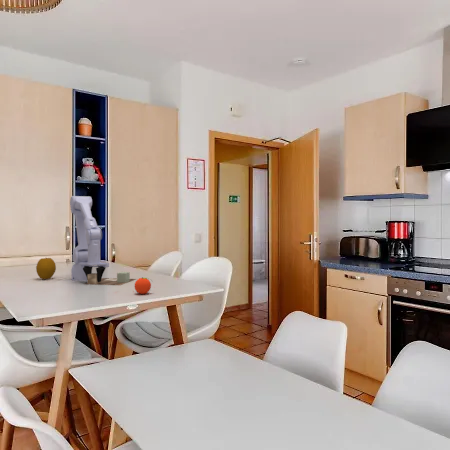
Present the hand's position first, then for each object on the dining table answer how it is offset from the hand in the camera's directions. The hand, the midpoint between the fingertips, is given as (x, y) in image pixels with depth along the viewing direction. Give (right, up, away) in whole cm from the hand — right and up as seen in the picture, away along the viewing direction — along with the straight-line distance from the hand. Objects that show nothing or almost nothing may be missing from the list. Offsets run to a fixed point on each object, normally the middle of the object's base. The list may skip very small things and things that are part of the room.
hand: (94, 281), depth 197 cm
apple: (-32, -2, +20) cm, 37 cm away
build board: (+7, -2, +5) cm, 9 cm away
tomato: (+28, -2, -22) cm, 36 cm away
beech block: (0, -1, 0) cm, 1 cm away
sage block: (+13, -1, +4) cm, 14 cm away
